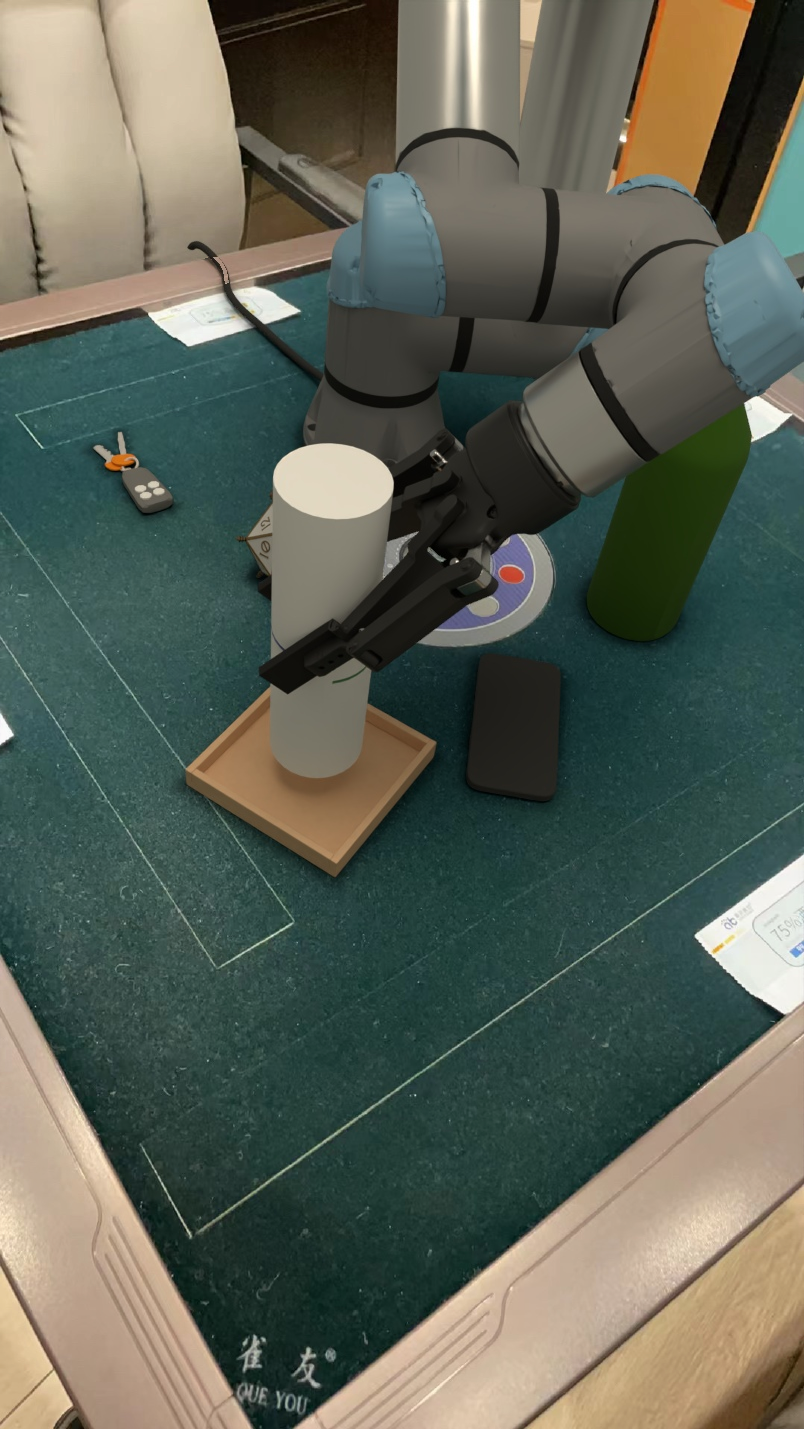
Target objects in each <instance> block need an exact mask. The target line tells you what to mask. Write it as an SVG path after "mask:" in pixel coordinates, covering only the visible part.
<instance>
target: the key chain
mask: <svg viewBox="0 0 804 1429" xmlns="http://www.w3.org/2000/svg"><path fill="white" fill-rule="evenodd" d="M117 443H118V450H119V454H116V455H114V454H112V452H111V451H110V450H108V449H106V448H105V446H103V445H100V444H96V445H95V446H93V447H92V449H93V450H94V451H95V452H97V453H98V454H99V455H100V456H101V457H102V458H103V459H105V460H106V462H105V463H104V467H105V468H106V469H107V470H109V471H115V472H117V471H121V472H122V473H121V481H122V484H123V486H124V488H125V490H126V491H127V492H128V494H129V496H130V498H131V499H132V501H133V502H134V503H135V505H136V507H137V508H138V510H139V511H141V512H142V513H145V514H153V513H156V512H161V511H163V510H165V509H168V508H170V507H171V506H172V505H173V504H174V498H173V495H172V493H171V492H170V491H169V489H167V487H166V486H165V485H164V484H163V483H162V482H161V481H160V480H159V479H158V478H157V477H156V475H154V474H153V472H152V471H150V470H149V469H147V468H146V467H142V466H140V462H139V459H138V458H137V457H136V456H135V455H134V454H131V453H127V450H126V442H125V440H124V435H123V432H122V431H118V432H117ZM133 464H135V466H134V467H133V468H131V467H127V466H131V465H133Z"/></svg>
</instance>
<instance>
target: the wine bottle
mask: <svg viewBox="0 0 804 1429" xmlns="http://www.w3.org/2000/svg"><path fill="white" fill-rule="evenodd" d="M752 439H753V433H752V429H751V425H750V421H749V418H748V412H747V409H746V405H745V403H744V404H742V405H740V406H739V407H737V408H736V409H734V410H732V411H731V412H729V413H727V414H726V415H724V416H723V417H721V418H719V419H718V420H716V421H714V422H713V423H711V424H710V425H708V426H706V427H705V428H703V429H702V430H700V431H698V432H697V433H695V434H693V435H692V436H690V437H689V438H687V439H685V440H684V441H682V442H681V443H679V444H677V445H676V446H674V447H673V448H671V449H670V450H668V451H666V452H665V453H663V454H662V455H661V454H660V455H659V456H657V457H656V458H654V459H653V460H651V461H648V463H646V464H645V465H643V466H642V467H640V468H639V469H637V470H635V471H634V472H632V473H631V474H629V475H628V476H626V477H625V478H624V481H623V484H622V487H621V490H620V493H619V496H618V498H617V503H616V505H615V508H614V511H613V514H612V517H611V520H610V523H609V526H608V529H607V531H606V535H605V537H604V541H603V544H602V546H601V550H600V553H599V556H598V559H597V562H596V566H595V568H594V571H593V574H592V576H591V580H590V583H589V586H588V589H587V592H586V607H587V610H588V612H589V615H590V616H591V617H592V619H593V620H594V621H595V623H596V624H597V625H599V626H600V627H601V628H602V629H603V630H605V631H607V632H609V633H610V634H612V635H613V636H615V637H619V638H621V639H625V640H629V641H636V642H649V641H654V640H658V639H661V638H662V637H664V636H665V635H667V634H669V633H670V632H671V631H672V630H673V628H674V627H675V626H676V625H677V623H678V621H679V618H680V615H681V614H682V612H683V608H685V604H686V602H687V600H688V597H689V595H690V593H691V591H692V589H693V586H694V584H695V581H696V580H697V577H698V574H699V573H700V570H701V568H702V566H703V563H704V561H705V559H706V556H707V554H708V552H709V550H710V548H711V546H712V543H713V540H714V539H715V536H716V535H717V534H716V533H717V532H718V529H719V527H720V524H721V522H722V520H723V518H724V515H725V513H726V511H727V509H728V506H729V504H730V502H731V500H732V497H733V495H734V492H735V491H736V488H737V486H738V483H739V481H740V478H741V476H742V474H743V472H744V469H745V467H746V465H747V463H748V461H749V456H750V451H751V445H752Z"/></svg>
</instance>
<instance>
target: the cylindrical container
mask: <svg viewBox="0 0 804 1429" xmlns="http://www.w3.org/2000/svg"><path fill="white" fill-rule="evenodd" d="M272 475H273V477H272V493H273V528H272V602H271V607H270V608H271V609H270V613H271V616H270V625H271V626H270V659H272V658H273V657H275V656H276V655H278V654H279V653H281V652H282V651H284V650H285V649H287V648H288V647H290V646H291V645H293V644H294V643H296V642H297V641H299V640H300V639H302V638H303V637H305V636H306V635H308V634H309V633H311V632H312V631H314V630H315V629H317V628H318V627H320V626H321V625H323V624H324V623H326V622H328V621H329V620H331V619H332V618H333V619H334V620H336V621H337V622H338V623H340V624H341V623H342V622H343V621H344V620H345V619H346V618H347V617H348V616H349V615H350V614H351V612H352V611H353V610H354V609H355V608H356V607H357V606H358V605H359V604H360V603H361V602H362V601H363V600H364V599H365V598H366V597H367V596H368V595H369V593H370V592H371V591H372V590H373V589H374V588H375V587H376V586H377V585H378V584H379V583H380V582H381V581H382V580H383V579H384V578H383V577H384V569H385V563H386V562H385V561H386V554H387V553H386V552H387V546H388V542H387V537H388V529H389V521H390V513H391V505H392V496H393V486H394V482H393V478H392V475H391V473H390V471H389V469H388V468H387V467H386V466H385V465H384V463H383V462H382V461H380V460H379V459H378V458H376V457H375V456H374V455H372V454H370V453H368V452H366V451H364V450H361V449H358V448H355V447H352V446H347V445H343V444H332V443H327V444H314V445H309V446H305V447H303V446H302V447H298V448H296V449H294V450H292V451H290V452H289V453H288V454H286V455H284V456H283V457H282V458H281V459H280V460H279V462H278V463H277V464H276V466H275V468H274V470H273V474H272ZM360 630H361V631H362V630H364V628H361V629H360ZM371 676H372V671H371V670H370V669H369V668H367V667H366V666H365V665H363V664H362V663H361V662H359V661H358V660H356V659H355V658H353V659H351V660H349V661H348V662H346V663H345V664H343V665H341V666H340V667H338V668H336V669H335V670H334V671H331V672H330V673H329V674H327V675H326V676H322V677H318V676H316V677H315V678H313V679H311V680H310V681H308V682H307V683H305V684H304V685H302V686H300V687H299V688H297V689H296V690H294V691H293V692H291V693H289V694H286V693H284V692H283V691H281V690H280V689H278V688H277V687H275V686H274V685H272V684H271V683H269V685H270V686H269V687H270V747H271V750H272V753H273V755H274V757H275V758H276V760H277V761H278V762H279V763H280V764H281V765H282V766H283V767H284V768H286V769H287V770H289V771H291V772H293V773H295V774H298V775H300V776H304V777H309V778H326V777H330V776H335V775H337V774H339V773H342V772H344V771H345V770H347V769H348V768H350V767H351V766H352V765H353V764H354V763H355V762H356V760H357V758H358V757H359V755H360V752H361V749H362V742H363V734H364V726H365V718H366V710H367V703H368V700H369V692H370V685H371Z"/></svg>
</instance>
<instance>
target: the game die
mask: <svg viewBox="0 0 804 1429" xmlns="http://www.w3.org/2000/svg"><path fill="white" fill-rule="evenodd" d="M268 497H269V498H270V500H271V503H270V504H269V506H268V507H267V508H266V509H265V511H264V512H263V513H262V515H261V516H260V517H259V519H258V520H257V522H256V523H255V524H254V526H253V527H252V528H251V530H250V531H249V532H248V534H247V535H246V536H245V537H244V536H243V535H239V536H237V537H235V540H237V541H238V543H244V542H245V543H246V545H247V547H248V550H249V551H250V553H251V555H252V557H253V559H254V561H255V563H256V565H257V566H258V568H259V570H258V572H256V579H258V578H262V576H264V575H265V576H267V577H269V576H270V575H272V528H273V491H269V496H268Z"/></svg>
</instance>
